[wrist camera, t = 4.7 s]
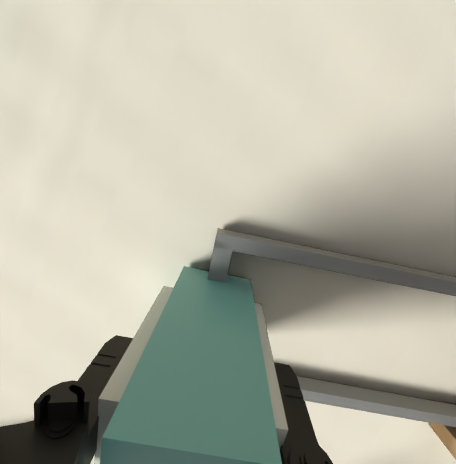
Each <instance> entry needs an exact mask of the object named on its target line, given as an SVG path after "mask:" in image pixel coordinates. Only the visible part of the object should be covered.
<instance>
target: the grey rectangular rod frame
mask: <svg viewBox="0 0 456 464" xmlns="http://www.w3.org/2000/svg"><path fill="white" fill-rule="evenodd" d="M232 251H235V252H240V253H245V254H250V255H255V256H260V257H265V258H270V259H275V260H280V261H284V262H289V263H294V264H299V265H304V266H309V267H314V268H319V269H324V270H329V271H334V272H339V273H344V274H349V275H354V276H359V277H364V278H369V279H373V280H378V281H383V282H388V283H393V284H398V285H403V286H408V287H413V288H418V289H423V290H428V291H433V292H438V293H443V294H448V295H453V296H456V277H453V276H448V275H443V274H438V273H433V272H428V271H423V270H419V269H414V268H409V267H404V266H399V265H394V264H389V263H385V262H380V261H375V260H370V259H365V258H360V257H355V256H351V255H346V254H341V253H336V252H331V251H326V250H322V249H317V248H312V247H307V246H302V245H297V244H292V243H288V242H283V241H278V240H273V239H268V238H263V237H258V236H254V235H249V234H244V233H239V232H234V231H229V230H224V229H220V228H218V230H217V235H216V240H215V244H214V249H213V254H212V259H211V264H210V269H209V271H204V270H199V269H194V268H189V267H184V268H183V270H182V272H181V274H180V276H179V278H178V280H177V282H176V284H175V286H174V288H173V291H172V293H171V295H170V297H169V299H168V301H167V303H166V305H165V307H164V309H163V311H162V313H161V316H160V318H159V320H158V322H157V324H156V326H155V328H154V330H153V332H152V334H151V336H150V339H149V341H148V343H147V345H146V347H145V349H144V351H143V353H142V355H141V357H140V359H139V361H138V364H137V366H136V368H135V370H134V372H133V374H132V376H131V378H130V380H129V382H128V384H127V387H126V389H125V391H124V393H123V395H122V397H121V399H120V401H119V403H118V405H117V407H116V409H115V412H114V414H113V416H112V418H111V420H110V422H109V424H108V426H107V428H106V430H105V432H104V435H103V437H102V445H101V456H100V464H282V461H281V455H280V449H279V444H278V438H277V432H276V426H275V420H274V415H273V409H272V403H271V397H270V391H269V385H268V380H267V374H266V368H265V362H264V356H263V351H262V345H261V339H260V333H259V327H258V322H257V316H256V310H255V304H254V298H253V292H252V287H251V281H250V279H245V278H240V277H235V276H230V275H227V273H228V268H229V264H230V260H231V255H232ZM297 378H298V381H299V385H300V390H301V391H302V394H303V399H304V400H305V401H310V402H316V403H322V404H327V405H333V406H339V407H344V408H350V409H356V410H361V411H367V412H373V413H378V414H384V415H389V416H395V417H401V418H406V419H412V420H418V421H423V422H429V423H435V424H440V425H446V426H452V427H456V405H454V404H448V403H443V402H437V401H432V400H426V399H420V398H415V397H409V396H404V395H398V394H393V393H387V392H382V391H376V390H371V389H365V388H360V387H354V386H349V385H343V384H338V383H332V382H327V381H321V380H316V379H310V378H305V377H299V376H297Z"/></svg>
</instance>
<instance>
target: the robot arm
mask: <svg viewBox="0 0 456 464" xmlns="http://www.w3.org/2000/svg"><path fill="white" fill-rule="evenodd" d="M172 291H173V288H171V287H166V286H163V288H162V290H161V292H160V293H159V295H158V297H157V298H156V300H155V302H154V304H153V305H152V307H151V309H150V311H149V312H148V314H147V316H146V317H145V319H144V321H143V323H142V324H141V326H140V328H139V330H138V331H137V333H136V335H135V336H134V338H128V337H122V336H117V335H116V336H115V337H113V338H112V339H110V340H109V341H108V342H106V343H105V344H104V346H103V347H102V348H101V350H100V351H99V352H98V354H97V356H96V357H95V358H94V359H93V361H92V362H91V364H90V365H89V366H88V368H87V369H86V370H85V372H84V373H83V374H82V376H81V377H80V379H79V380H78V381H67V382H62V383H60V384H57V385H55V386H52V387H51V388H49V389H48V390H47V391H45V392H44V393H42V394H41V395H40V397H39V398H38V399H37V400H36V401H35V403H34V421H30V422H26V423H20V424H14V425H8V426H3V427H0V464H90V463H91V461H92V459H93V456H94V454H95V460H94V464H100V456H101V445H102V437H103V435H104V432H105V430H106V428H107V426H108V424H109V422H110V420H111V418H112V416H113V414H114V412H115V409H116V407H117V405H118V403H119V401H120V399H121V397H122V395H123V393H124V391H125V389H126V387H127V384H128V382H129V380H130V378H131V376H132V374H133V372H134V370H135V368H136V366H137V364H138V361H139V359H140V357H141V355H142V353H143V351H144V349H145V347H146V345H147V343H148V341H149V339H150V336H151V334H152V332H153V330H154V328H155V326H156V324H157V322H158V320H159V318H160V316H161V313H162V311H163V309H164V307H165V305H166V303H167V301H168V299H169V297H170V295H171V293H172ZM254 304H255V310H256V316H257V322H258V327H259V333H260V339H261V345H262V351H263V356H264V362H265V368H266V374H267V380H268V385H269V391H270V397H271V403H272V409H273V415H274V420H275V426H276V432H277V438H278V444H279V449H280V455H281V461H282V464H333V463H332V461H331V460H330V458H329V457H328V455H327V453H326V452H325V451H324V450H323V449H322V448H321V447H320V446H319V444H318V442H317V439H316V436H315V433H314V430H313V426H312V423H311V420H310V417H309V414H308V410H307V407H306V404H305V401H304V399H303V394H302V391H301V390H300V385H299V381H298V378H297V376H296V374H295V373H294V371H293V370H292V369H291V367H290V366H289V365H285V364H280V363H274V361H273V356H272V352H271V347H270V342H269V338H268V333H267V328H266V324H265V319H264V315H263V310H262V305H261V304H257V303H254Z"/></svg>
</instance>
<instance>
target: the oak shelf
mask: <svg viewBox="0 0 456 464" xmlns="http://www.w3.org/2000/svg"><path fill="white" fill-rule="evenodd" d="M428 424H429V425H430V427H431V428H432V429H433V431H434V432H435V433H436V434H437V436H438V437H439V438H440V440H441V441H442V442H443V444H444V445H445V446H446V447H447V449H448V450H449V451H450V453H451V454H452V455H453V456H454V458H455V459H456V427H452V426H446V425H440V424H435V423H428Z"/></svg>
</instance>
